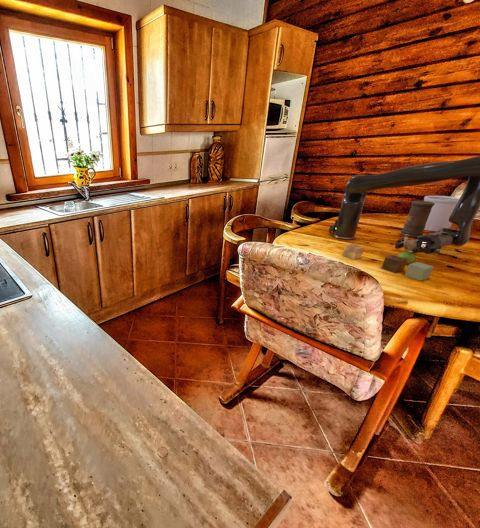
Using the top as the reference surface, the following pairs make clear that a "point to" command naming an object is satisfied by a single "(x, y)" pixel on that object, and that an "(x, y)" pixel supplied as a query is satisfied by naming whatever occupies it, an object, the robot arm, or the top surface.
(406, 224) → the container
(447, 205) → the utensil holder
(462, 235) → the robot arm
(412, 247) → the snail figurine
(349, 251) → the mauve cube
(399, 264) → the walnut block
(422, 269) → the sage block
